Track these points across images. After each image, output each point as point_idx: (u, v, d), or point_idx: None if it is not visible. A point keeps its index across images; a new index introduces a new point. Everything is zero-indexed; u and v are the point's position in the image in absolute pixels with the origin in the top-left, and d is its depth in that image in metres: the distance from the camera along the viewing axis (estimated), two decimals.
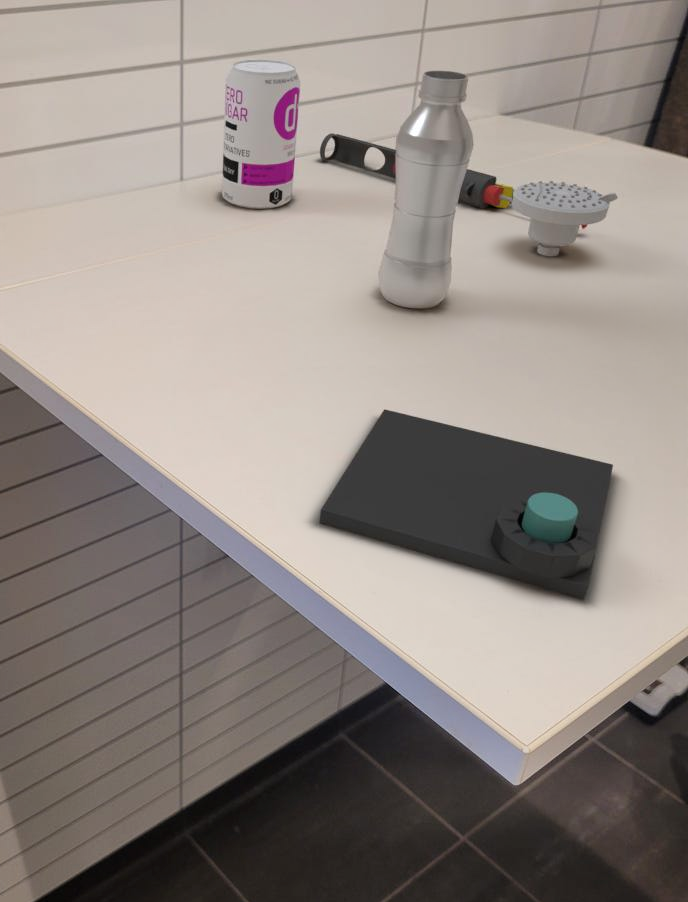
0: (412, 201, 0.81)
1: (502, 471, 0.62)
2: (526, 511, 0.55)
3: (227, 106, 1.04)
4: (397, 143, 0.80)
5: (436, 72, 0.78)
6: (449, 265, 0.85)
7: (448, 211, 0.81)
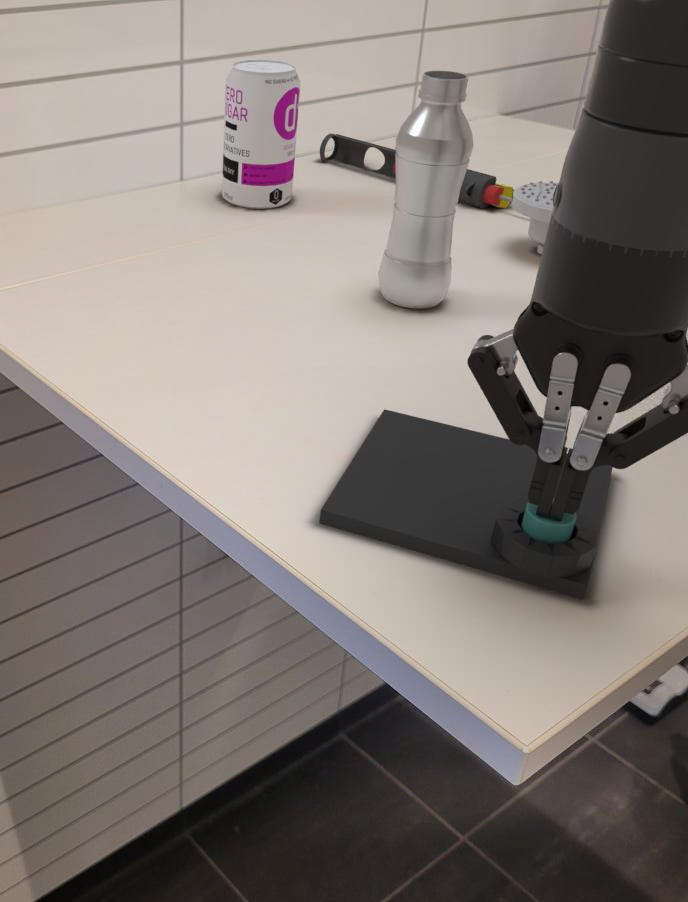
0: (412, 201, 0.81)
1: (502, 471, 0.62)
2: (525, 516, 0.55)
3: (227, 106, 1.04)
4: (397, 143, 0.80)
5: (436, 72, 0.78)
6: (449, 265, 0.85)
7: (448, 211, 0.81)
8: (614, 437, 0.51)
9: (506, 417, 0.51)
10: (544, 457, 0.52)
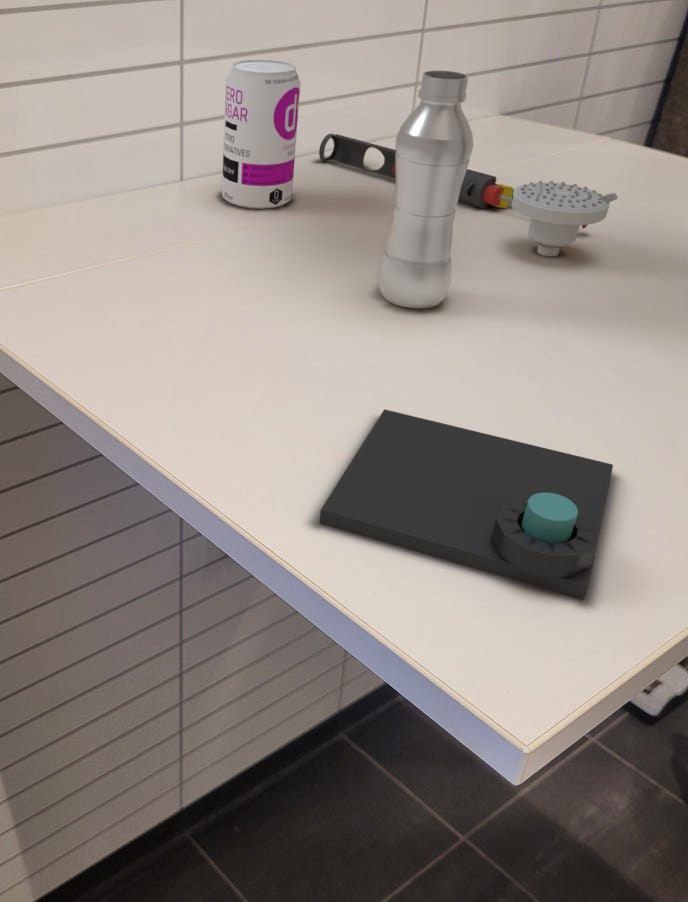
0: (412, 201, 0.81)
1: (502, 471, 0.62)
2: (526, 511, 0.55)
3: (227, 106, 1.04)
4: (397, 143, 0.80)
5: (436, 72, 0.78)
6: (449, 265, 0.85)
7: (448, 211, 0.81)
8: None
9: None
10: None
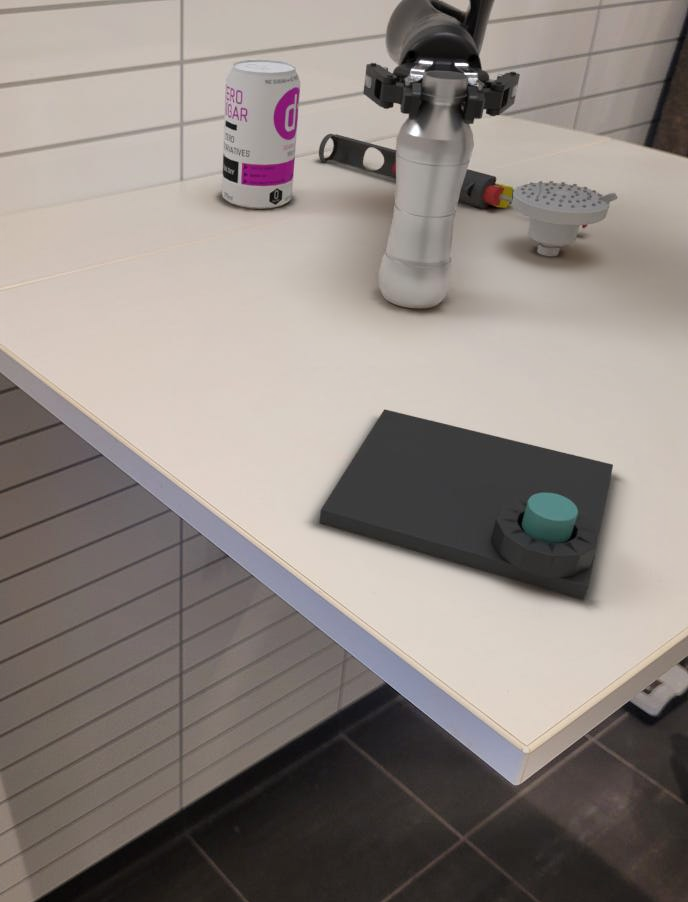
0: (413, 201, 0.81)
1: (502, 471, 0.62)
2: (526, 511, 0.55)
3: (227, 106, 1.04)
4: (397, 143, 0.80)
5: (437, 72, 0.78)
6: (449, 265, 0.85)
7: (448, 211, 0.81)
8: None
9: None
10: None
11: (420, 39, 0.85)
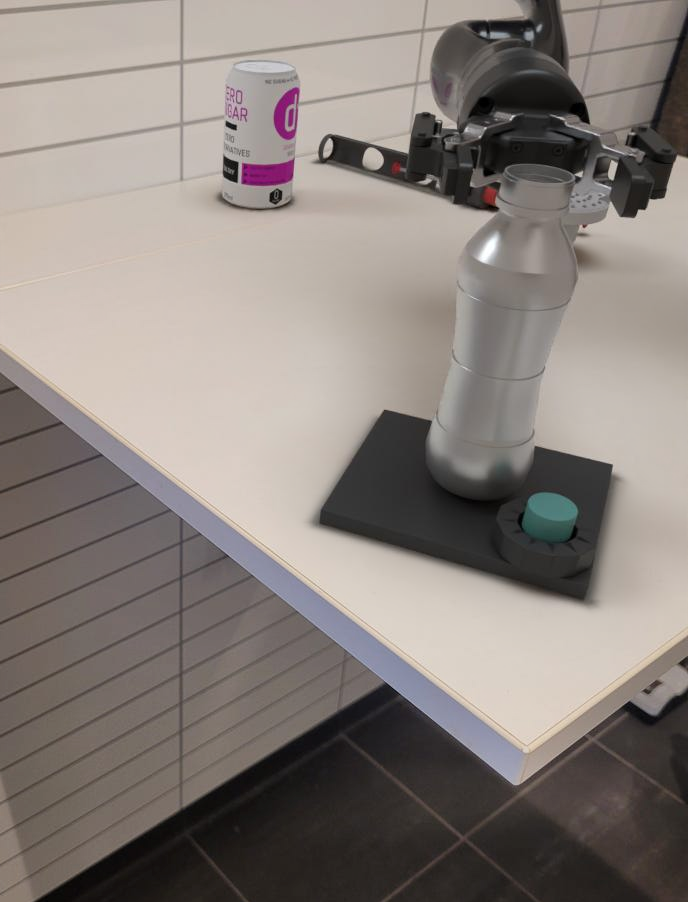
0: (482, 356, 0.54)
1: None
2: (526, 511, 0.55)
3: (227, 106, 1.04)
4: (461, 271, 0.53)
5: (523, 166, 0.51)
6: (532, 441, 0.57)
7: (536, 371, 0.54)
8: None
9: None
10: None
11: (498, 80, 0.57)
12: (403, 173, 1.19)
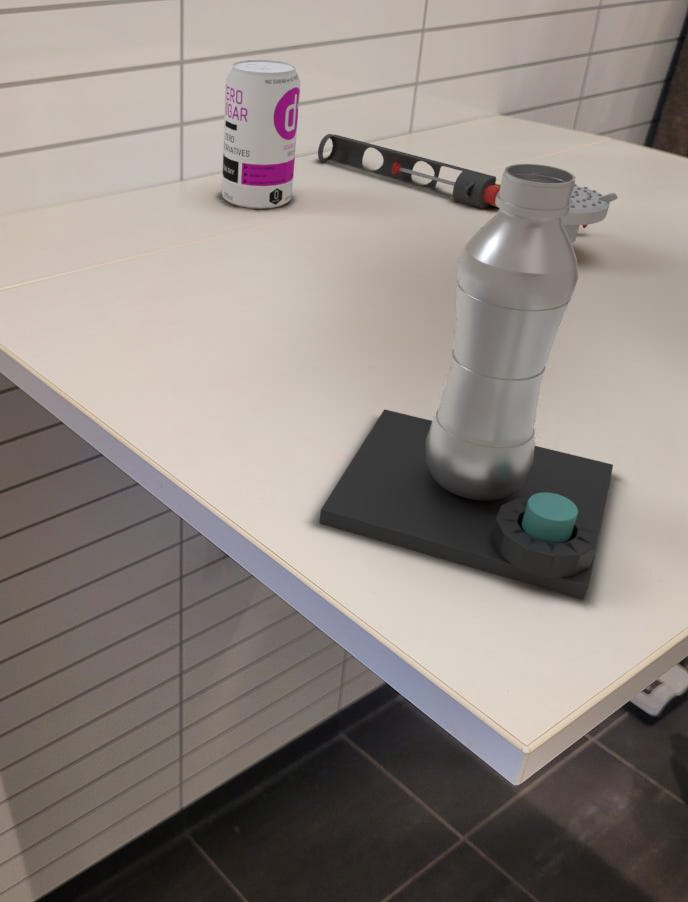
0: (482, 356, 0.54)
1: None
2: (526, 511, 0.55)
3: (227, 106, 1.04)
4: (461, 271, 0.53)
5: (523, 166, 0.51)
6: (532, 441, 0.57)
7: (536, 371, 0.54)
8: None
9: None
10: None
11: None
12: (403, 173, 1.19)
